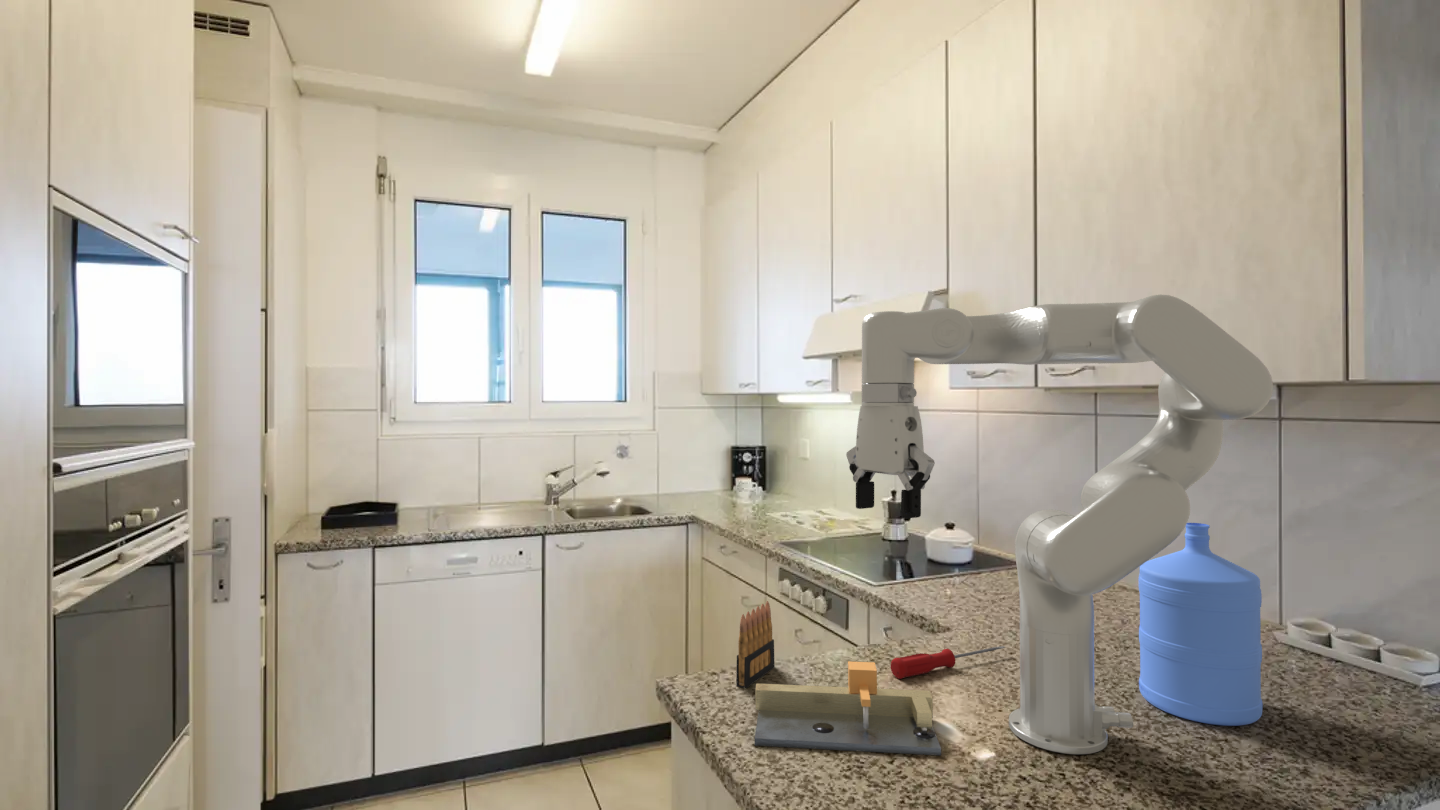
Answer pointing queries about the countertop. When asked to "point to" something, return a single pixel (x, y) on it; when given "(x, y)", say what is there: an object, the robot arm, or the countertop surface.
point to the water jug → (1200, 635)
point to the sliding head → (863, 684)
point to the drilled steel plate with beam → (845, 719)
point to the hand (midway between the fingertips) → (887, 512)
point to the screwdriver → (928, 662)
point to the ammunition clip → (755, 646)
